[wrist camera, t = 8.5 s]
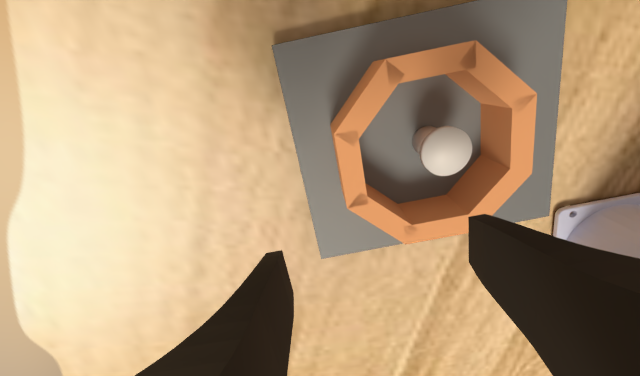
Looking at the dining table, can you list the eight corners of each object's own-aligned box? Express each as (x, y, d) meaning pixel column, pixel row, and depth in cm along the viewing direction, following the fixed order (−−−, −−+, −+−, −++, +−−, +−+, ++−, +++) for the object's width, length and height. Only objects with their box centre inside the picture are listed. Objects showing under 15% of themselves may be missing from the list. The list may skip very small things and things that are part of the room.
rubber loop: (502, 34, 17) (541, 26, 14) (498, 201, 20) (529, 221, 17) (320, 72, 17) (322, 71, 14) (348, 229, 21) (355, 253, 18)
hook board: (554, -15, 17) (625, -40, 13) (538, 209, 22) (586, 238, 18) (273, 46, 17) (263, 39, 14) (320, 251, 22) (323, 286, 19)
